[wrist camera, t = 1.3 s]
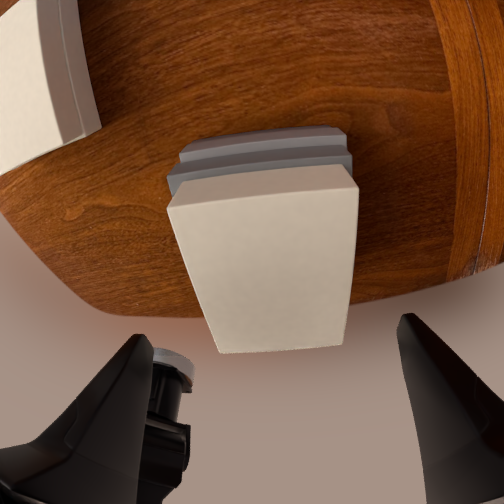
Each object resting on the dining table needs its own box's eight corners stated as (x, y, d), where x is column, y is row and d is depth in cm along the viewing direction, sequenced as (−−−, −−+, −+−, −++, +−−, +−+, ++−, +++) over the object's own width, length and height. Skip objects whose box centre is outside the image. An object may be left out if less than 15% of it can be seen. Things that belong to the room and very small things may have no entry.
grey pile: (331, 265, 18) (345, 318, 15) (224, 275, 19) (215, 328, 16) (331, 121, 13) (357, 144, 9) (190, 137, 14) (163, 167, 10)
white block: (335, 311, 14) (342, 345, 13) (223, 320, 15) (219, 354, 13) (342, 163, 10) (359, 187, 8) (182, 180, 10) (165, 208, 9)
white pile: (102, 128, 13) (66, 148, 10) (26, 160, 14) (-7, 183, 11) (76, -8, 8) (37, -15, 5) (0, 47, 9) (-37, 55, 6)
